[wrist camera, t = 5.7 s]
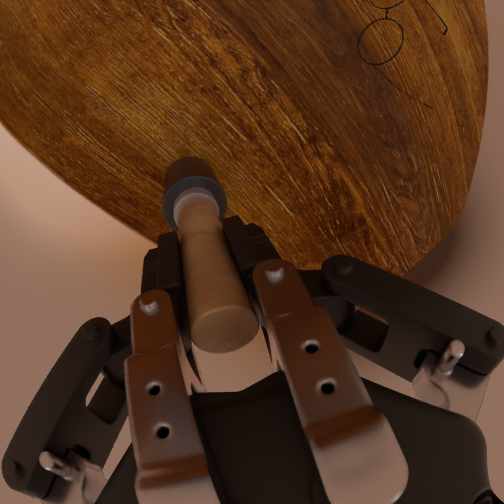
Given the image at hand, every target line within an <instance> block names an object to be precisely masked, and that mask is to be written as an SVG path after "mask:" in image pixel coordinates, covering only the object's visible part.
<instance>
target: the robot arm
mask: <svg viewBox="0 0 504 504" xmlns="http://www.w3.org/2000/svg"><path fill="white" fill-rule="evenodd" d="M221 222H222V227H223V232H224V234H225V237H226V240H227V242H228V245H229V247H230V250H231V253H232V255H233V258H234V260H235V263H236V265H237V268H238V271H239V273H240V276H241V278H242V281H243V283H244V286H245V288H246V289H247V291H248V294H249V296H250V299H251V301H252V304H253V306H254V309H255V311H256V314H257V316H258V318H259V321H260V325H261V331H262V335H263V339H264V342H265V345H266V349H267V353H268V356H269V360H270V364H271V367H272V370H273V374H271V375H269V376H267V377H266V378H264V379H262V380H260V381H259V382H257V383H255V384H253V385H251V386H249V387H248V388H246V389H244V390H242V391H239V392H206V389H205V386H204V383H203V379H202V376H201V373H200V370H199V366H198V363H197V359H196V356H195V352H194V349H193V347H192V343H191V337H190V331H189V324H188V317H187V309H186V300H185V292H184V283H183V274H182V264H181V253H180V243H179V240H178V236H177V233H176V231H173V232H169V233H165V234H161V235H159V236H158V248H154V249H150V250H149V251H148V253H147V254H146V256H145V257H144V263H143V274H142V284H141V295H139V296H138V297H137V298H136V299H135V300H134V301H133V303H132V305H131V308H130V315H129V316H127V317H126V318H124V319H122V320H120V321H118V322H116V323H114V324H112V325H111V324H110V323H109V321H108V320H107V319H105V318H101V317H97V318H93V319H90V320H89V321H87V322H85V323H84V324H83V325H82V326H81V327H80V328H79V330H78V331H77V332H76V334H75V335H74V337H73V338H72V340H71V341H70V343H69V344H68V345H67V347H66V348H65V350H64V351H63V353H62V354H61V356H60V357H59V359H58V360H57V362H56V363H55V365H54V366H53V368H52V369H51V371H50V372H49V374H48V376H47V377H46V379H45V380H44V382H43V384H42V385H41V387H40V389H39V390H38V392H37V394H36V395H35V397H34V399H33V401H32V402H31V404H30V406H29V407H28V409H27V411H26V413H25V415H24V416H23V418H22V420H21V422H20V424H19V426H18V428H17V430H16V432H15V434H14V436H13V438H12V440H11V442H10V444H9V446H8V448H7V450H6V452H5V454H4V457H3V460H2V473H3V477H4V479H5V481H6V483H7V484H8V486H9V487H10V488H12V489H13V490H16V491H18V492H20V493H23V494H25V495H28V496H31V497H32V498H34V499H36V500H39V501H40V502H42V503H43V504H504V503H503V502H502V501H501V500H500V499H499V498H498V497H497V496H496V495H495V494H494V493H493V491H492V489H491V486H490V482H489V478H488V470H487V446H486V441H485V438H484V435H483V433H482V431H481V429H480V428H479V426H478V425H477V424H476V423H475V422H476V419H477V416H478V413H479V411H480V408H481V405H482V402H483V399H484V395H485V392H486V388H487V385H488V381H489V377H490V374H491V373H492V372H493V371H494V369H495V368H496V367H497V366H498V365H499V363H500V362H501V361H502V360H503V359H504V326H503V325H501V324H500V323H499V322H497V321H495V320H493V319H491V318H488V317H487V316H485V315H482V314H480V313H478V312H476V311H474V310H472V309H470V308H468V307H466V306H463V305H461V304H459V303H457V302H455V301H453V300H450V299H448V298H446V297H444V296H442V295H439V294H437V293H435V292H433V291H430V290H428V289H426V288H424V287H422V286H419V285H417V284H415V283H412V282H410V281H408V280H406V279H403V278H401V277H399V276H396V275H394V274H392V273H389V272H387V271H385V270H382V269H380V268H377V267H375V266H373V265H370V264H368V263H366V262H363V261H361V260H358V259H356V258H353V257H351V256H346V255H336V256H332V257H330V258H328V259H326V260H325V261H324V262H323V264H322V270H298V269H296V268H295V266H294V265H293V264H292V263H291V262H289V261H287V260H284V259H282V258H281V257H280V255H279V254H278V252H277V251H276V249H275V248H274V246H273V244H272V243H271V241H270V240H269V238H268V237H267V236H266V234H265V232H264V231H263V229H262V228H261V227H259V226H257V225H256V224H254V223H252V224H248V225H244V224H243V223H242V221H241V219H240V217H239V215H236V216H232V217H228V218H224V219H221ZM358 306H359V307H362V308H364V309H366V310H368V311H370V312H372V313H374V314H376V315H378V316H380V317H382V318H383V319H385V320H386V322H387V323H388V325H387V324H385V323H383V322H381V321H379V320H377V319H375V318H373V317H371V316H369V315H367V314H365V313H363V312H361V311H359V310H357V307H358ZM345 347H346V348H348V349H350V350H352V351H354V352H355V353H357V354H359V355H361V356H363V357H365V358H366V359H368V360H370V361H372V362H374V363H376V364H377V365H379V366H381V367H383V368H385V369H387V370H389V371H391V372H392V373H394V374H396V375H398V376H400V377H402V378H404V379H406V380H407V381H409V382H411V383H413V388H414V391H415V396H416V398H417V399H415V398H412V397H410V396H407V395H404V394H402V393H399V392H397V391H394V390H392V389H389V388H387V387H384V386H381V385H379V384H377V383H374V382H372V381H369V380H367V379H364V378H362V377H360V376H359V374H358V372H357V370H356V368H355V366H354V364H353V361H352V360H351V357H350V356H349V353H348V352H347V350H346V348H345ZM100 372H101V373H102V374H103V376H104V378H103V380H102V382H101V384H100V385H99V387H98V389H97V391H96V392H95V394H94V396H93V398H92V399H91V401H90V403H89V405H88V406H87V407H86V403H85V402H86V397H87V394H88V392H89V391H90V389H91V387H92V385H93V384H94V382H95V381H96V379H97V377H98V375H99V374H100ZM423 401H425V402H423ZM127 416H129V423H130V431H131V437H132V443H131V444H130V446H129V447H128V449H127V451H126V452H125V454H124V456H123V457H122V459H121V460H120V462H119V464H118V465H117V467H116V469H115V470H114V472H113V473H112V475H111V477H110V478H109V480H107V479H106V478H105V477H104V473H103V471H102V469H103V467H104V465H105V463H106V461H107V458H108V456H109V454H110V452H111V450H112V448H113V446H114V443H115V441H116V439H117V437H118V435H119V433H120V431H121V429H122V427H123V425H124V422H125V420H126V418H127Z"/></svg>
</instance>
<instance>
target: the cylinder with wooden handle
mask: <svg viewBox="0 0 504 504" xmlns="http://www.w3.org/2000/svg"><path fill="white" fill-rule="evenodd" d="M226 209H227V199H226V195H225V193H224V191H223V189H222V187H221V185H220V183H219V181H218V179H217V178H216V176H215V174H214V172H213V170H212V168H211V167H210V165H209V164H208V163H207V162H205V161H204V160H202V159H200V158H197V157H184V158H181V159H179V160H177V161H176V162H174V163H173V164H172V165H171V166H170V167H169V169H168V171H167V173H166V175H165V183H164V195H163V214H164V217H165V220H166V221H167V223H168V224H169V225H170V227H171V228H173V229H174V230H175V231H177V232H179V243H180V253H181V264H182V274H183V283H184V292H185V300H186V309H187V317H188V324H189V331H190V337H191V340H192V341H193V343H194V344H195V345H196V346H197V347H198V348H199V349H201V350H203V351H206V352H210V353H218V354H220V353H229V352H233V351H236V350H238V349H241V348H243V347H244V346H246V345H247V344H249V343H250V342H251V341H252V340H253V339H254V338H255V336H256V335H257V333H258V330H259V319H258V316H257V314H256V311H255V309H254V306H253V304H252V301H251V299H250V296H249V294H248V291H247V289H246V288H245V286H244V283H243V281H242V278H241V276H240V273H239V271H238V268H237V265H236V263H235V260H234V258H233V255H232V253H231V250H230V247H229V245H228V242H227V240H226V237H225V234H224V232H223V228H222V225H221V223H220V222H221V219H223V218H224V216H225V213H226Z"/></svg>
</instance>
